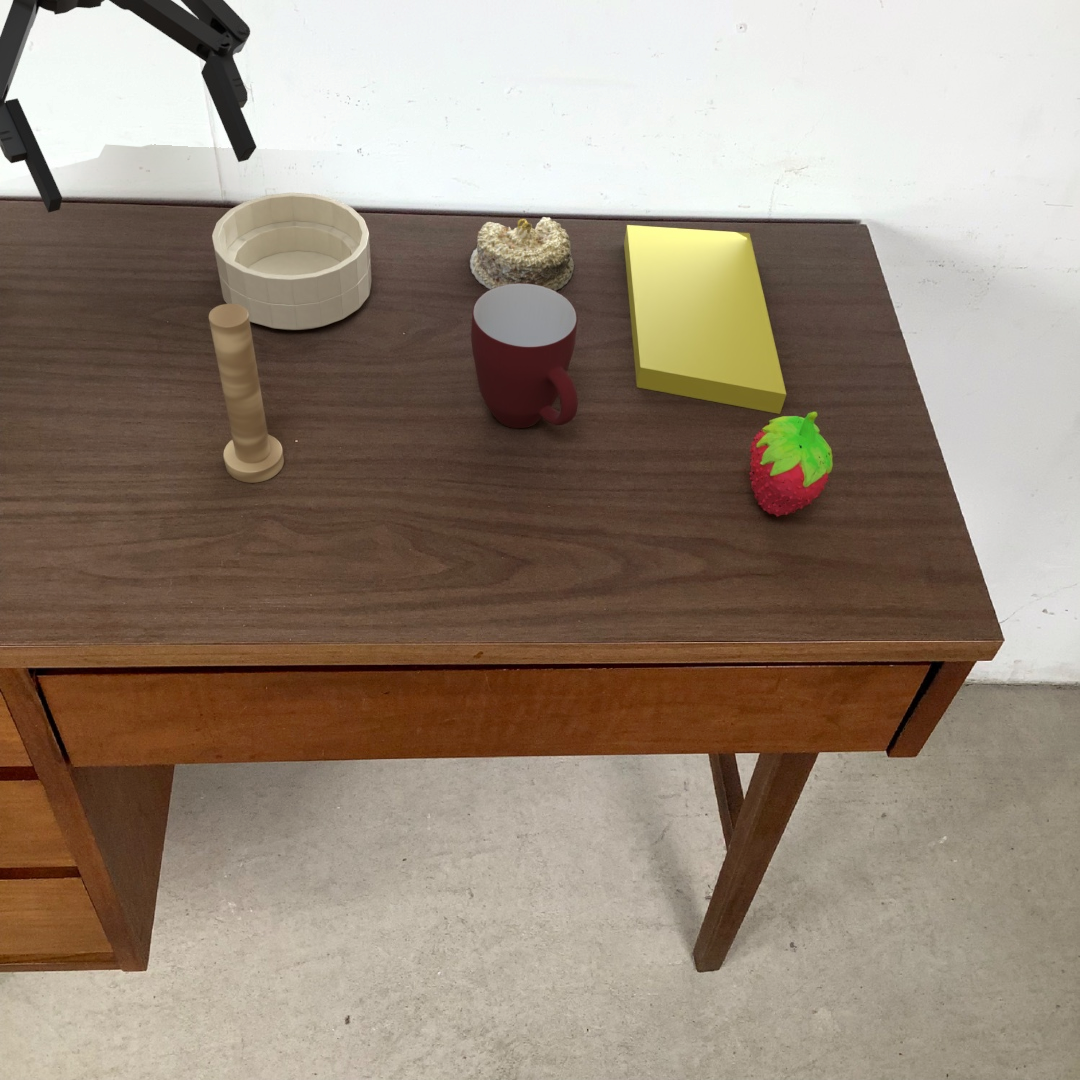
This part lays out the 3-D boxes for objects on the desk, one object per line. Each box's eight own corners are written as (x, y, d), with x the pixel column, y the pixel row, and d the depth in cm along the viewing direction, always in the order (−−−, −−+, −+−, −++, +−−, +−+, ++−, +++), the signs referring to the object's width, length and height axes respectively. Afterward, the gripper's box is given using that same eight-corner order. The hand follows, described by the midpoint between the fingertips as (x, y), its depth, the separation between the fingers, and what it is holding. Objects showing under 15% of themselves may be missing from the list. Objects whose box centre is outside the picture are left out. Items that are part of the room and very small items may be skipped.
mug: (607, 431, 88) (624, 334, 80) (539, 477, 83) (549, 379, 76) (517, 368, 92) (525, 270, 85) (448, 409, 88) (449, 309, 80)
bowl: (263, 354, 91) (254, 296, 86) (198, 275, 97) (187, 217, 93) (398, 307, 96) (396, 250, 92) (327, 235, 103) (322, 178, 99)
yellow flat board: (624, 244, 106) (638, 405, 90) (627, 225, 104) (642, 386, 88) (744, 252, 106) (779, 414, 91) (749, 233, 105) (786, 394, 89)
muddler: (241, 491, 80) (211, 343, 70) (215, 456, 82) (183, 307, 72) (294, 469, 82) (273, 322, 72) (268, 435, 84) (244, 288, 74)
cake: (589, 292, 101) (596, 246, 97) (489, 312, 98) (493, 265, 94) (550, 228, 106) (556, 181, 102) (455, 244, 103) (456, 197, 99)
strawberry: (806, 474, 86) (842, 379, 78) (816, 543, 81) (855, 448, 74) (735, 467, 86) (764, 371, 78) (740, 536, 81) (772, 440, 73)
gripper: (189, -132, 78) (305, 153, 82) (-187, -81, 67) (-34, 244, 71) (209, -196, 71) (334, 117, 75) (-206, -151, 60) (-36, 212, 64)
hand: (155, 179), depth 73 cm, fingers open, 13 cm apart
